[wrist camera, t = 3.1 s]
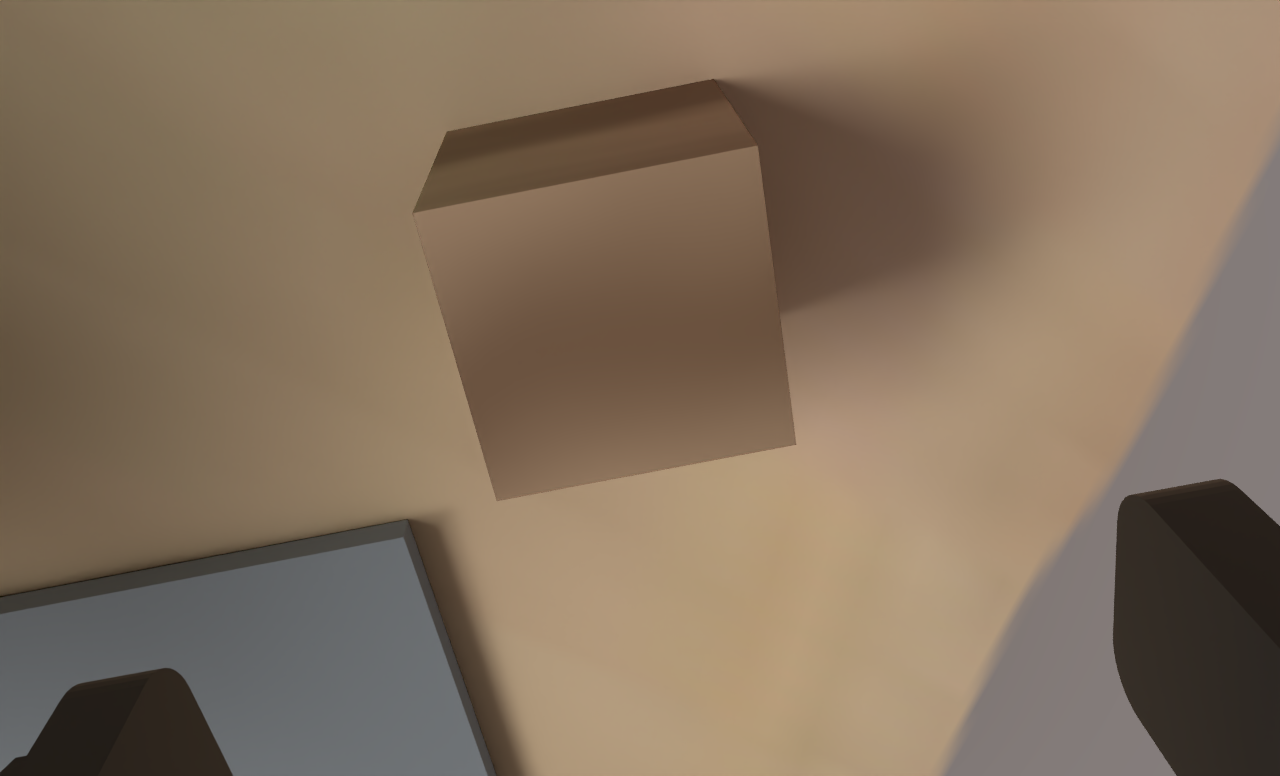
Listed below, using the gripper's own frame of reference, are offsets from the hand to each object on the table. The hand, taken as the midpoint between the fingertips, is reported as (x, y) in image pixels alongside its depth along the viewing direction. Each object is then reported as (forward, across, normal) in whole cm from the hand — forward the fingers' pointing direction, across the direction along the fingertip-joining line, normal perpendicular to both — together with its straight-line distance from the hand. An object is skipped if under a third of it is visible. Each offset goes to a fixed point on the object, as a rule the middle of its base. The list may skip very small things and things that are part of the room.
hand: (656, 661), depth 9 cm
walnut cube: (+11, 0, 0) cm, 11 cm away
